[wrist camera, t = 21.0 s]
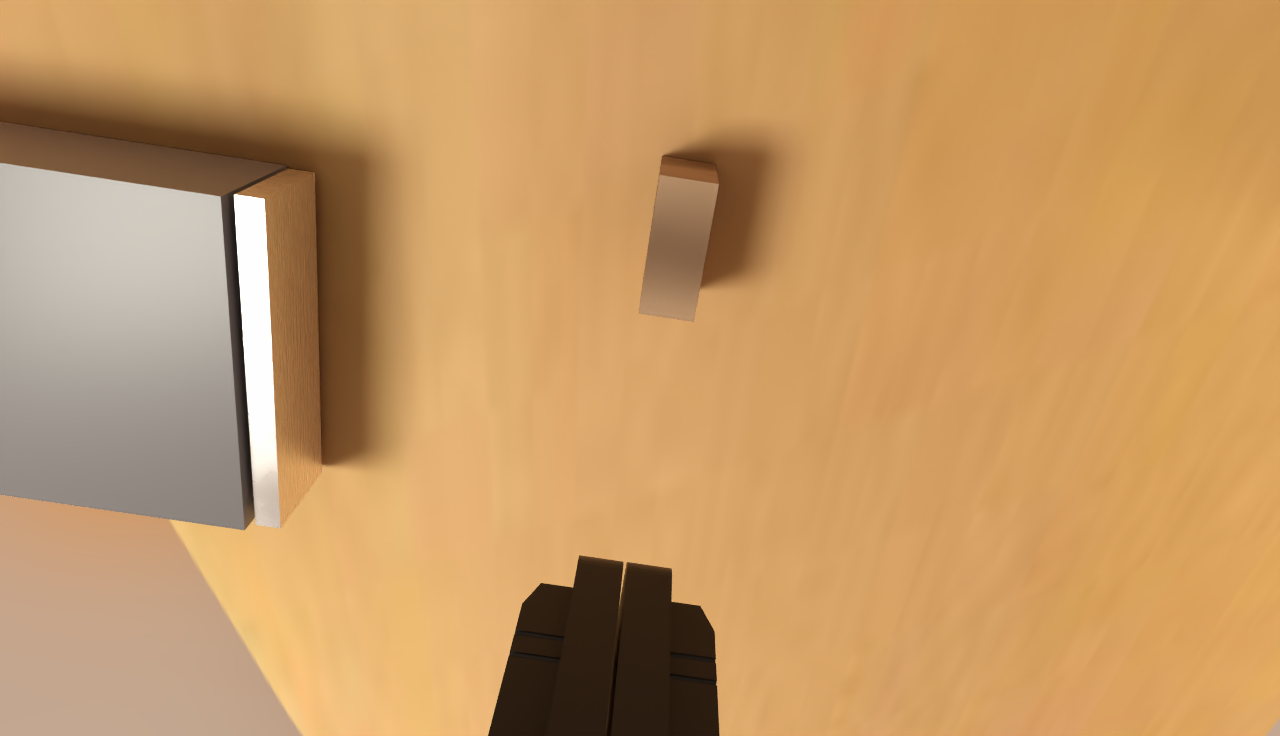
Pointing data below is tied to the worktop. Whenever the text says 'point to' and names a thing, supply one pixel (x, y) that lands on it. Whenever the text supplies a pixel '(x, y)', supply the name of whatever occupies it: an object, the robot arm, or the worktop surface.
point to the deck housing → (123, 327)
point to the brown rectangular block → (679, 238)
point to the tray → (280, 339)
